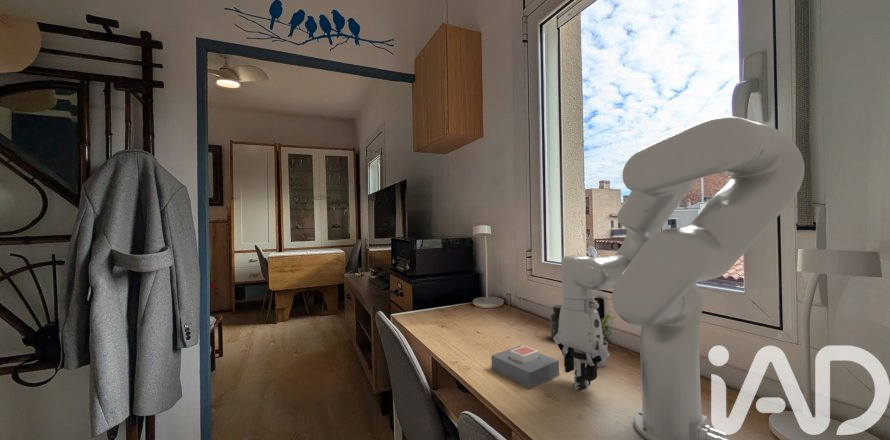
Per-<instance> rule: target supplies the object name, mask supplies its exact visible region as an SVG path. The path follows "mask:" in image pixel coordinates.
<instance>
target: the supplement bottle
mask: <svg viewBox="0 0 890 440" xmlns="http://www.w3.org/2000/svg"><path fill="white" fill-rule="evenodd" d="M562 306H563V304H555V305H553V306H552V312H553V313H551V314H550V339H551V341H553V342H554V343H556V342H555V341H554V340H553V337H554V336H555V335H556V334H557V333H558V327H559V315H560V310H561V307H562Z"/></svg>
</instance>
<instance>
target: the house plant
mask: <svg viewBox="0 0 890 440" xmlns="http://www.w3.org/2000/svg"><path fill="white" fill-rule="evenodd" d="M594 310H596V311H598V308H595V309H594ZM612 314H614V311H613V312H610V313H608V314H605V316H604V317H603V318H600V322H601V327H602V335H603V345H604V346H605V347H606V349H607V350H608V345H609V344H608V343H609V342H607V341H606V340H605V339H606V338H607V337H609V336H611V335H612V334H615V335H617V333H619V331H618V330H617V331H612V330H607V327H608V326H609V325H611V324H614V323H615V324H616V323H617V324H618V322H616V321H612V322H609V321H611V320H612V319H615V318H617V316H612ZM607 322H609V323H607ZM607 333H608V334H607ZM605 334H607V335H605ZM596 353H597V356H598V355H599V354H600V351H599V350H596ZM606 359H607V357H606V358H604V359H603V360H601V361H600V362H599V363H597V368H600V367H604V366H605V364H606ZM588 364H589V363H588V360H586V365H588Z"/></svg>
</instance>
